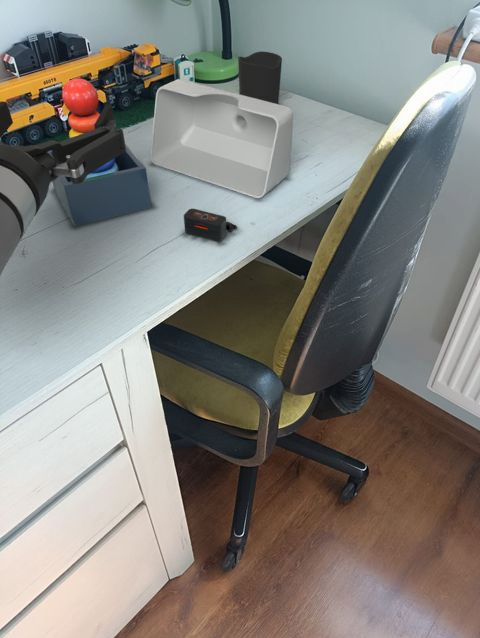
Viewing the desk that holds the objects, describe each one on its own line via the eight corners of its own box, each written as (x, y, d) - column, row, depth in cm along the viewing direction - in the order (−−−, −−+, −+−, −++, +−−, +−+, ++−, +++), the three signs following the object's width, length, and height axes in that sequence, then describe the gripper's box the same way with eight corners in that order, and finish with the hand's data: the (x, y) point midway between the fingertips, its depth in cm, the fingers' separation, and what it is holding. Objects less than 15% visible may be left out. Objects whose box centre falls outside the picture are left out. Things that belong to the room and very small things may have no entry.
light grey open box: (306, 164, 98) (312, 95, 89) (263, 200, 88) (265, 127, 79) (199, 133, 106) (195, 67, 98) (149, 162, 97) (140, 92, 88)
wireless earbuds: (225, 245, 79) (224, 227, 76) (183, 234, 80) (181, 216, 78) (237, 230, 82) (237, 212, 79) (197, 220, 83) (196, 202, 81)
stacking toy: (135, 200, 87) (115, 82, 74) (93, 216, 83) (64, 95, 70) (110, 182, 91) (87, 67, 78) (69, 197, 87) (37, 79, 74)
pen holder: (280, 115, 114) (282, 65, 107) (238, 114, 114) (237, 64, 107) (278, 99, 121) (281, 51, 114) (238, 98, 120) (238, 50, 113)
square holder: (54, 190, 89) (43, 151, 84) (126, 174, 93) (119, 136, 88) (74, 227, 81) (63, 185, 76) (151, 207, 86) (146, 167, 81)
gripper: (-105, 223, 55) (-26, 139, 70) (128, 229, 55) (157, 144, 70) (-143, 156, 50) (-49, 80, 65) (115, 162, 50) (150, 85, 65)
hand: (59, 113), depth 67 cm, fingers open, 13 cm apart
